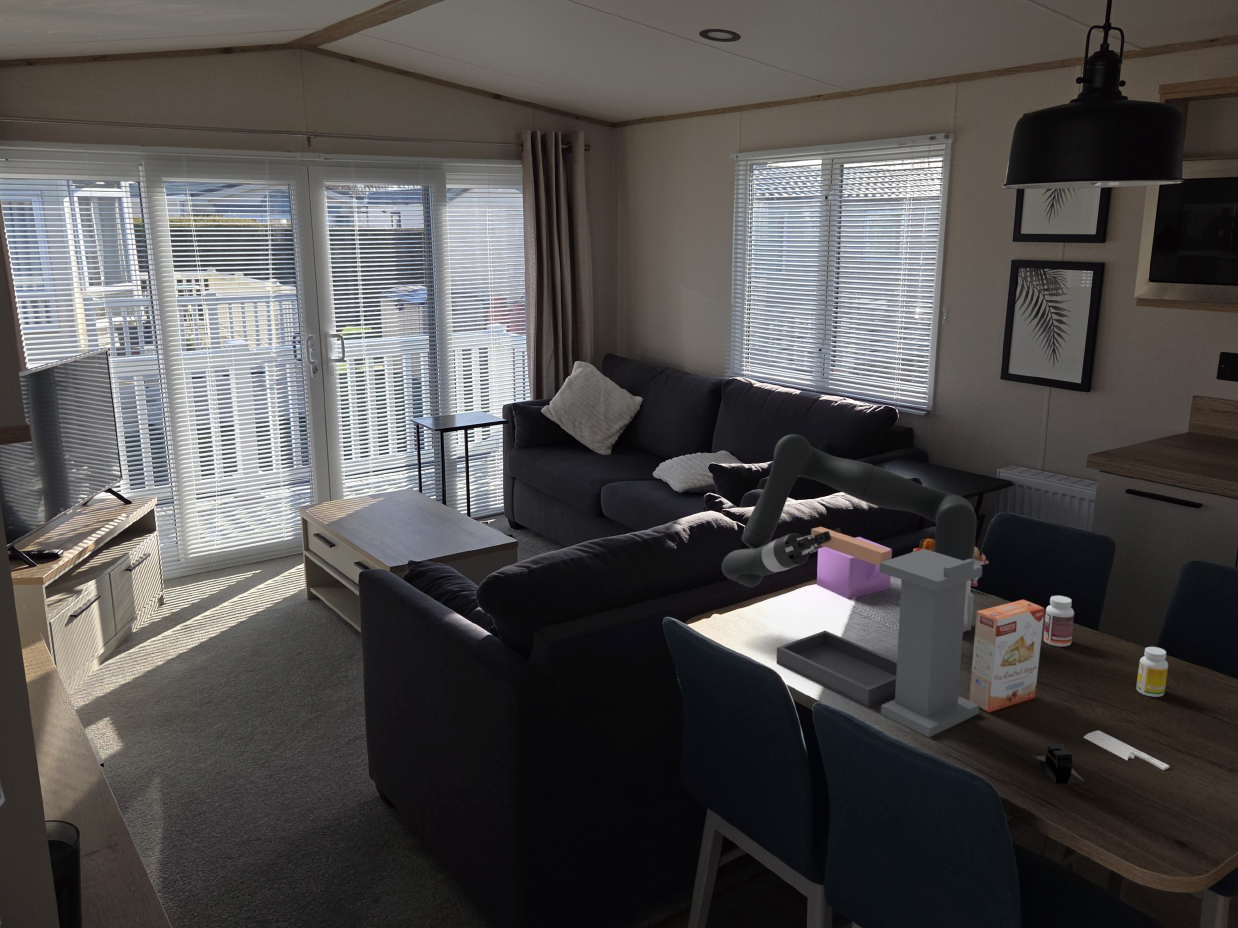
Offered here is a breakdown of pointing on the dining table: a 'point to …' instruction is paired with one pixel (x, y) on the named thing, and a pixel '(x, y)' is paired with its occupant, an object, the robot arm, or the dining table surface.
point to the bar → (854, 547)
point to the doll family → (980, 559)
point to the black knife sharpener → (1058, 764)
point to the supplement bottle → (1152, 672)
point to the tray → (841, 667)
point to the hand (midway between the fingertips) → (834, 534)
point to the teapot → (849, 573)
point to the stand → (930, 641)
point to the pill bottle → (1059, 621)
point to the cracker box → (1006, 655)
